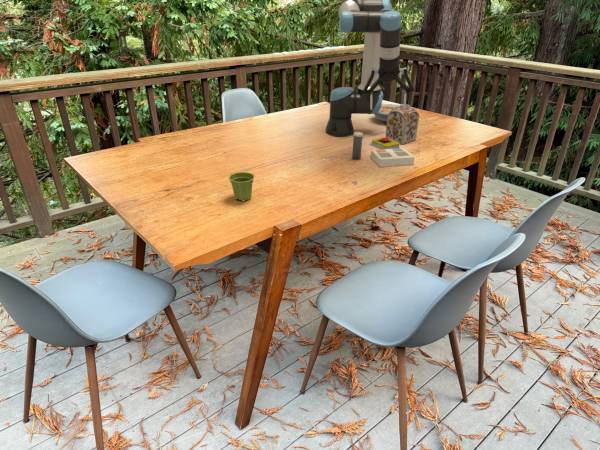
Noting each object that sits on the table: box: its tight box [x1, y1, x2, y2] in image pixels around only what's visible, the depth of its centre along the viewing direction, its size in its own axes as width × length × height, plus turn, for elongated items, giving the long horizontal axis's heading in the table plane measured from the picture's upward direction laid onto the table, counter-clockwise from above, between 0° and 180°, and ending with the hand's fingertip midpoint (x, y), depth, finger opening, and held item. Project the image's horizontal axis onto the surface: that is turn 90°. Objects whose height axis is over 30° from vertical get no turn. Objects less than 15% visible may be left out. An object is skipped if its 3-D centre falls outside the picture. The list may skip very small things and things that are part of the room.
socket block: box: [370, 147, 416, 168], centre depth 189 cm, size 12×16×4 cm
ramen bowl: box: [373, 103, 402, 124], centre depth 242 cm, size 25×23×8 cm
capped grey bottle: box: [351, 131, 364, 161], centre depth 189 cm, size 4×4×12 cm
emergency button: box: [369, 136, 401, 150], centre depth 205 cm, size 9×4×15 cm
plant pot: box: [228, 171, 256, 201], centre depth 154 cm, size 9×9×9 cm
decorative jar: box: [384, 103, 420, 146], centre depth 211 cm, size 12×12×18 cm
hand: (387, 107), depth 174 cm, fingers open, 13 cm apart
